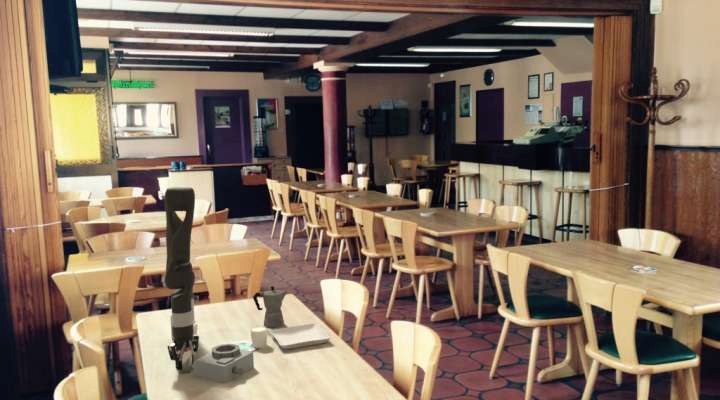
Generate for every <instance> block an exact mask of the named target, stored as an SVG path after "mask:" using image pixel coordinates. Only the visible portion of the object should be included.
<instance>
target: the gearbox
mask: <svg viewBox="0 0 720 400" xmlns="http://www.w3.org/2000/svg"><path fill="white" fill-rule="evenodd" d="M254 360H255V359H254V351H250V350H246V349H240V345H239V344H235V343H222V344H218V345H216V346H214V347H212V348H211V352H209V353H207V354H205V355H202V356H200V357H199V358H198V357H197V358H196V359H194V371H195V373H194V374H195V377H197V378H202V379H207V380H211V381H216V382H221V383H223V384H224V383H225V384H226V383H228V382H229V381H231V380H233V379H235V378H236V377H238V376H242V374H244V373H246V372H248V371H250V370H252V369H254V368H255V364H254V363H255V361H254Z"/></svg>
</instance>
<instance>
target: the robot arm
mask: <svg viewBox="0 0 720 400" xmlns="http://www.w3.org/2000/svg"><path fill="white" fill-rule="evenodd" d="M195 205H196V194H195V190H194V189H193V187H188V186H187V187H183V186H181V187H180V186H171V187H168V188H166V190H165V193H164V208H165V210H164V211H165V217H166V218H165V222H166V224H165V225H166V226H165V228H166V229H165V244H166V260H165V262H166V263H165V276H164V285H165V287H166V288H167V289H168V290H174V291H172V292H171V293H170V301H171V302H170V304H171V306H170V307H171V316H170V317H169V318H170V333H171V339H173V343H172V344H168V345H167V350H168V355H169V360H171V361H174V362H175V369H176V371H178V370H179V371H181V370H182V360H181V359H182V355H183V354H184V351H185V348H186V347H189V349H191V351H192V366H194V365H195V358H194V357H195V356H194V353H195V354H196V353H197V352H198V350H199V341H200V336H199V335H197V336H196V335H193V334H194V330H193V321H196V319H195V302H194V300H195V299H194V290H193V288H194V285H195V284H194V283H195V281H196V274H195V271H193V265H192V262H191V237H192V230H193V224H194V215H195V208H196V207H195ZM177 212H185V215H184V219H183V220H182V219H181V218H180V216H179V215H178V213H177ZM194 345H195V348H194ZM178 350H179V351H181V352H178ZM178 354H179V357H178Z"/></svg>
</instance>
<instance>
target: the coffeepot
mask: <svg viewBox="0 0 720 400" xmlns="http://www.w3.org/2000/svg"><path fill="white" fill-rule="evenodd" d="M287 294H288V292H287V291H286V290H285V291H283V290H279V289H275V286H274V285H272V286H270V290H265V291H257V292H255V294H254V295H253V296H252V299H253V302H254V303H255V306H256V308H257V311H263V309H264V308H265V312H264V318H263V319H264V320H263V327H266V328H267V329H268V328H269V329H276V328H277V329H278V328H280V327H281V328H282V327H283V326H284V324H285V319H284V316H283V311H282V308H281V307H282V306H283V301H284V299H285V296H286V295H287ZM258 298H262V299H263V305H264V308H263V307H260V303H259V299H258Z"/></svg>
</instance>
